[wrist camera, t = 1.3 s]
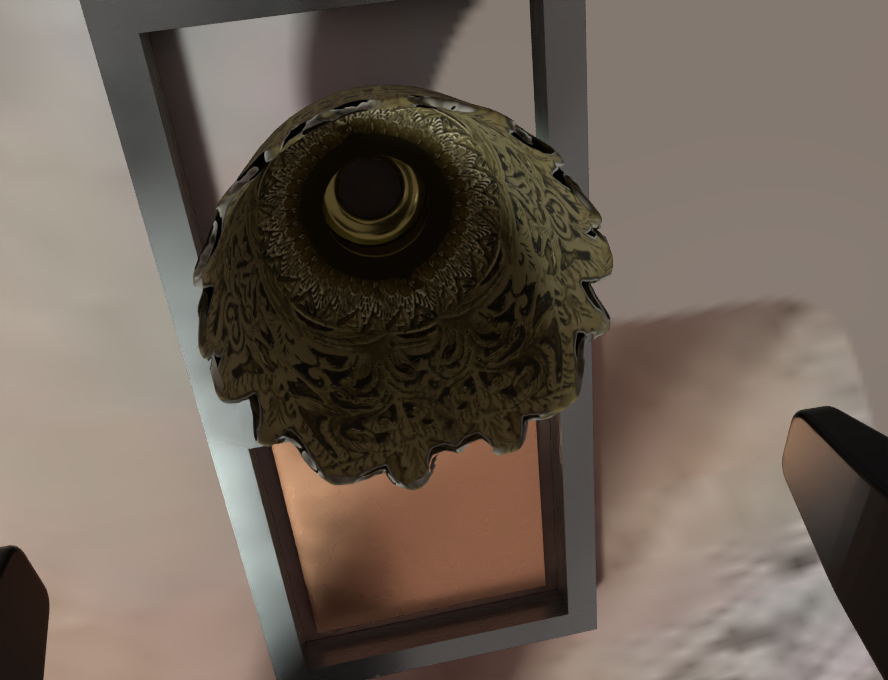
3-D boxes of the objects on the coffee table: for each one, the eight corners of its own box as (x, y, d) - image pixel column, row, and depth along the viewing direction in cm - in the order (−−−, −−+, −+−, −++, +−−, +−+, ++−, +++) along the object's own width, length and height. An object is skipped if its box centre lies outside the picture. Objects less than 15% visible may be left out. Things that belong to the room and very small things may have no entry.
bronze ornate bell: (471, -3, 20) (578, 39, 13) (534, 268, 23) (645, 418, 16) (173, 90, 19) (111, 186, 12) (282, 349, 23) (283, 538, 16)
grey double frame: (585, 603, 30) (597, 628, 28) (281, 668, 28) (282, 697, 27) (567, -74, 19) (584, -73, 18) (88, -15, 18) (76, -11, 17)
